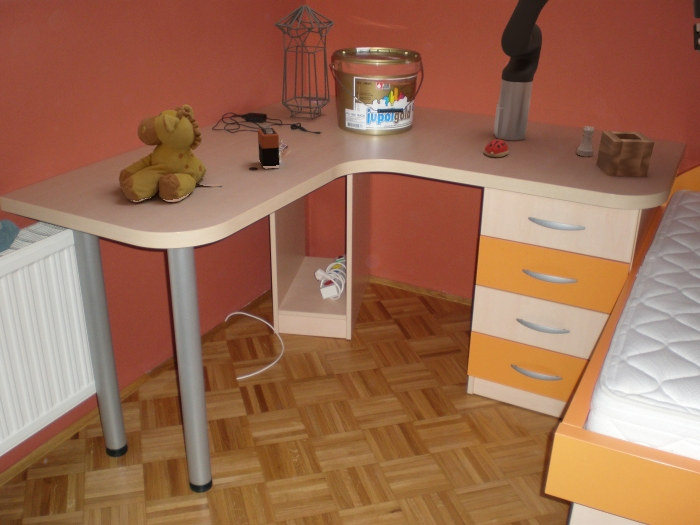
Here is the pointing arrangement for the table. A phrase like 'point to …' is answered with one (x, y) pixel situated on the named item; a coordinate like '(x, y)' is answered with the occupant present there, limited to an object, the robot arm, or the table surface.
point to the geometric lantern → (292, 19)
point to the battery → (268, 146)
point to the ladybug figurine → (496, 148)
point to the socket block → (624, 153)
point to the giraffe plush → (166, 157)
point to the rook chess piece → (586, 142)
